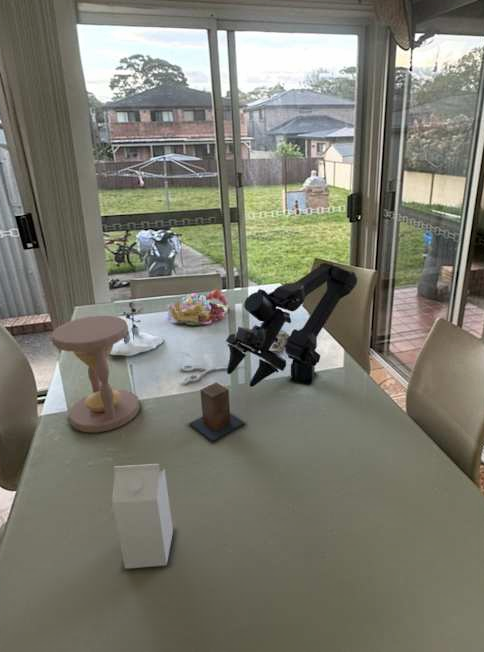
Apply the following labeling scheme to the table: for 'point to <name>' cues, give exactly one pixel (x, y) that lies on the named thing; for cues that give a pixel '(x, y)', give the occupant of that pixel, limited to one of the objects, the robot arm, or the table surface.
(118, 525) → the milk carton
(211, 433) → the coaster mat
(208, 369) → the scissors
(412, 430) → the table surface
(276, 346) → the pale grey lumpy piece
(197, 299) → the yellow pink lumpy heap
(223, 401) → the walnut block
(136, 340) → the figurine
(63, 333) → the hourglass
